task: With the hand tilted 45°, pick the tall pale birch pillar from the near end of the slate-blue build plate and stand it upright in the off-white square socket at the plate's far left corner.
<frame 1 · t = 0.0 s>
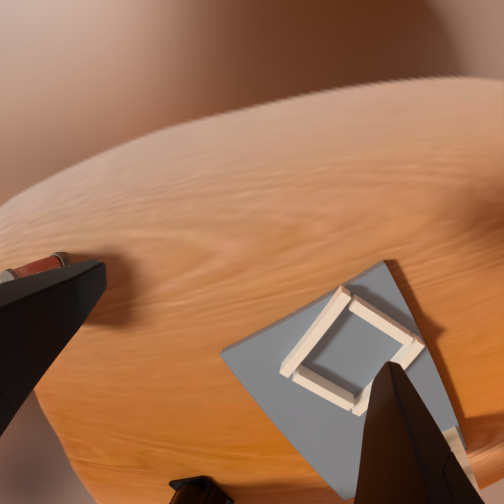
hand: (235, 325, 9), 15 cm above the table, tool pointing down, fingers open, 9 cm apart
socket: (350, 346, 25), resting on build plate
birch pillar: (436, 448, 24), point 1 cm above the table, touching build plate
lighter: (64, 288, 30), on the table
build plate: (364, 410, 26), on the table
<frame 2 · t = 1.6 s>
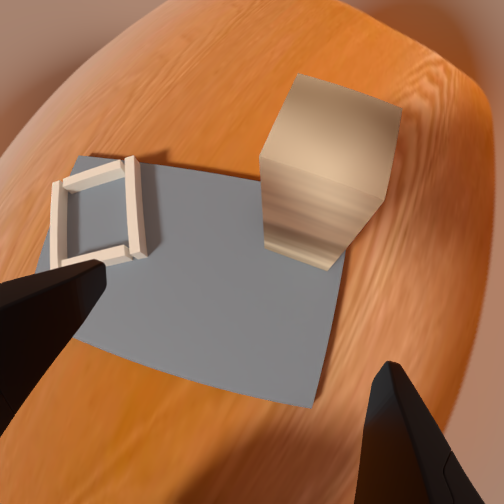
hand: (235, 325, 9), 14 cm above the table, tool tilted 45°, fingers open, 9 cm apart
socket: (103, 223, 25), resting on build plate
birch pillar: (306, 230, 23), point 1 cm above the table, touching build plate
build plate: (172, 266, 24), on the table
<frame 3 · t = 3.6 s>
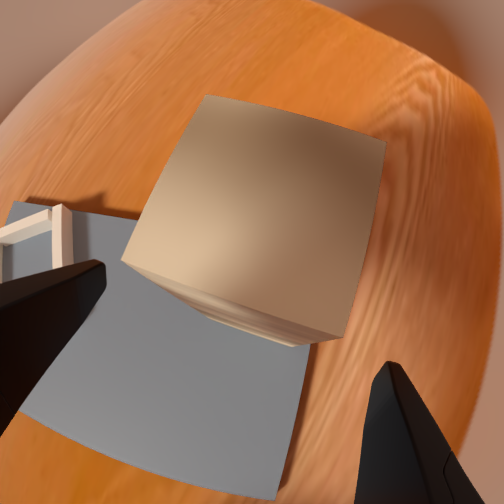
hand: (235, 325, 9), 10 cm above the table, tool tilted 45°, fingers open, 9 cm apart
socket: (38, 282, 20), resting on build plate
birch pillar: (264, 294, 18), point 1 cm above the table, touching build plate
build plate: (108, 336, 19), on the table
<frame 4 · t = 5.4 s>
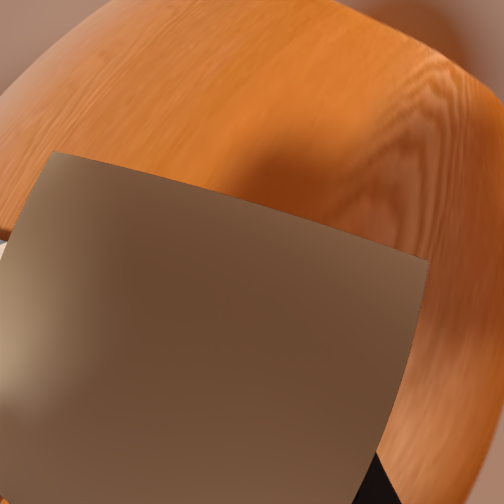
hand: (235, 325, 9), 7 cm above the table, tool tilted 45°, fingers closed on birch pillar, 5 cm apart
birch pillar: (236, 362, 14), point 1 cm above the table, touching build plate, gripper
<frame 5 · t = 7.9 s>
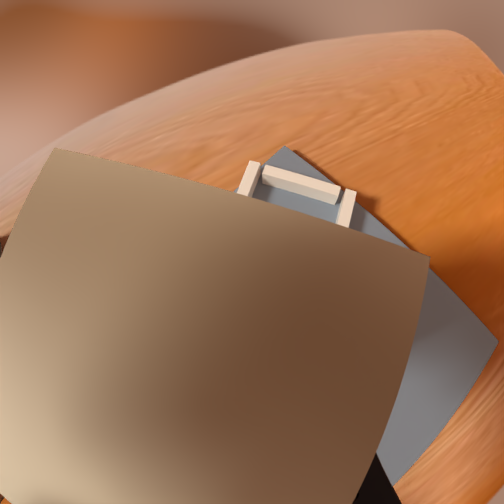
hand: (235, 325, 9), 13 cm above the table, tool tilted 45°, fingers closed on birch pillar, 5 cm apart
socket: (285, 237, 24), resting on build plate
birch pillar: (236, 361, 14), point 8 cm above the table, touching gripper
build plate: (339, 321, 22), on the table
when the fingers open (8 cm above the table, at t = 10.5 s): birch pillar drops 1 cm, resting on build plate.
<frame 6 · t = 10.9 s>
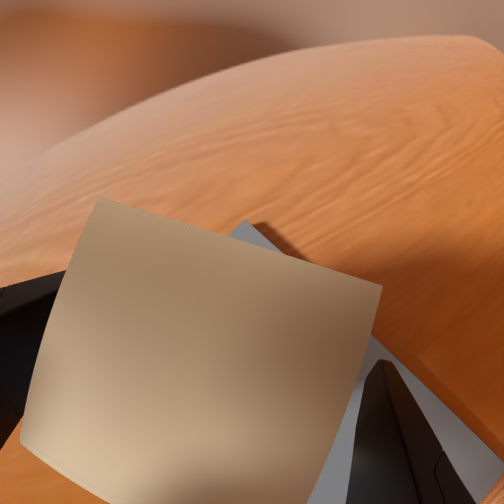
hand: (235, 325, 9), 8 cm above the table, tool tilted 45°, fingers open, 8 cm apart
birch pillar: (239, 360, 15), point 1 cm above the table, touching build plate
build plate: (308, 468, 14), on the table
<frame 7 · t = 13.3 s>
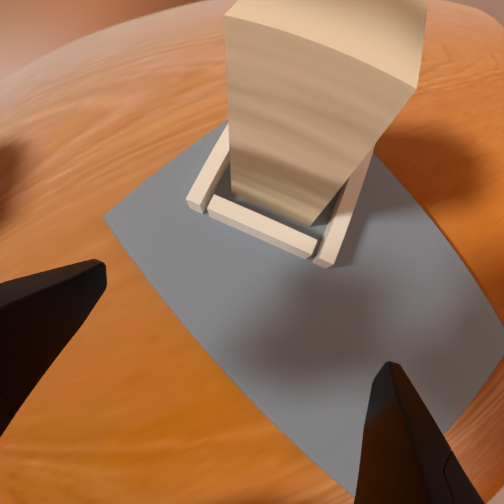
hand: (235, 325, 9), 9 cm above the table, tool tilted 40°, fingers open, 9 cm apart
socket: (283, 182, 19), resting on build plate
birch pillar: (286, 174, 18), point 1 cm above the table, touching build plate
build plate: (339, 294, 18), on the table
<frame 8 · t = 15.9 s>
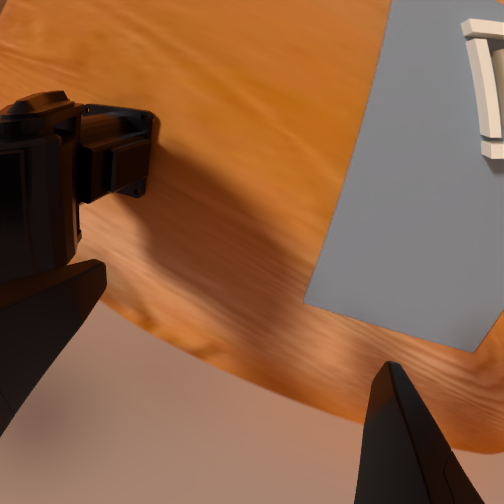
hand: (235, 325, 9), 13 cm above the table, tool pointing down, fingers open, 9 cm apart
build plate: (466, 175, 17), on the table
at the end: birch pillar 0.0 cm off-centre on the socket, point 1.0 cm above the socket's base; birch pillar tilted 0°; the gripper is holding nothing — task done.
